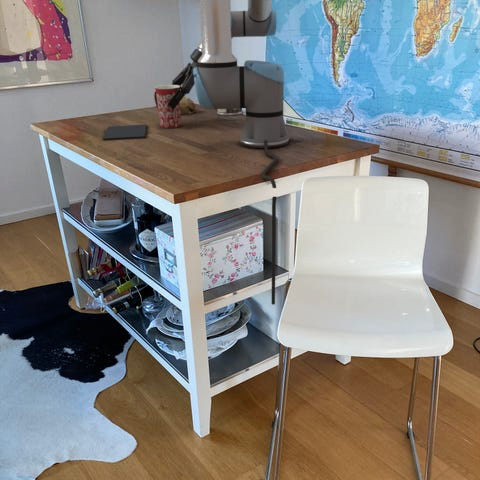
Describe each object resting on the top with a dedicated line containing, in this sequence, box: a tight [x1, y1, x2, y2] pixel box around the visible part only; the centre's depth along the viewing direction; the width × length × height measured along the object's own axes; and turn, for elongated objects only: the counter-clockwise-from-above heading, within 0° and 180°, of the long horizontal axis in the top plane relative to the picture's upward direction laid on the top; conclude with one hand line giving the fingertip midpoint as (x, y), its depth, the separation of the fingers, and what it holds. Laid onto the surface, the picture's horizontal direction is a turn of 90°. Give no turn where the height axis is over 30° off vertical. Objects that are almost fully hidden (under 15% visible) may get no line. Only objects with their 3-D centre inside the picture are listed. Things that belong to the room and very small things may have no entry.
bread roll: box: [180, 96, 197, 116], centre depth 212 cm, size 10×10×8 cm
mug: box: [153, 84, 182, 129], centre depth 188 cm, size 13×9×14 cm
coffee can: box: [216, 108, 243, 116], centre depth 206 cm, size 10×10×14 cm
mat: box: [102, 124, 148, 141], centre depth 182 cm, size 20×14×1 cm
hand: (166, 104), depth 188 cm, fingers open, 13 cm apart
